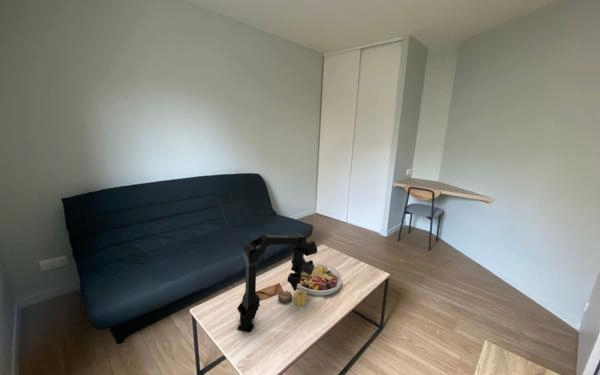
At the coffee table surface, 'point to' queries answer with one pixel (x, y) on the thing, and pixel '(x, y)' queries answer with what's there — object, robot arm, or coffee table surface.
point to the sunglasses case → (269, 292)
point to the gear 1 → (285, 297)
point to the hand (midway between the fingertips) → (296, 285)
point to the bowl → (320, 280)
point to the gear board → (293, 303)
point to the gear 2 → (300, 298)
